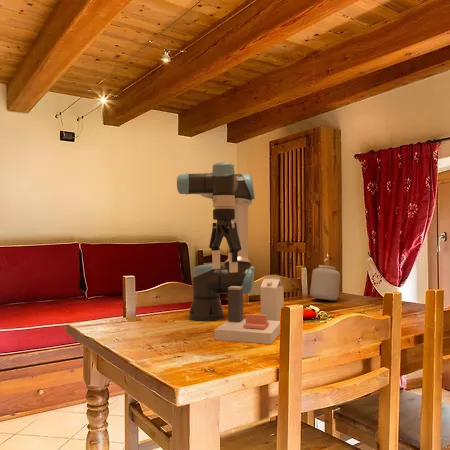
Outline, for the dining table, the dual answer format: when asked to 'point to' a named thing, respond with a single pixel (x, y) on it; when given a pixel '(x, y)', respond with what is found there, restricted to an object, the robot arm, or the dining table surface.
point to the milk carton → (272, 297)
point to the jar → (325, 283)
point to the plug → (235, 303)
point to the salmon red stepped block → (256, 321)
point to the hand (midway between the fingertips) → (224, 270)
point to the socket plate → (247, 332)
